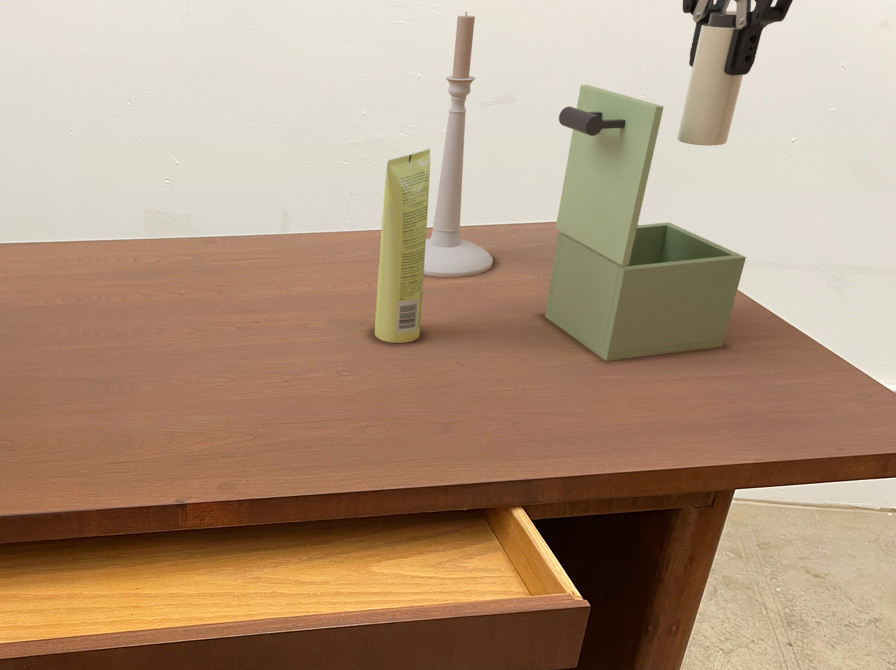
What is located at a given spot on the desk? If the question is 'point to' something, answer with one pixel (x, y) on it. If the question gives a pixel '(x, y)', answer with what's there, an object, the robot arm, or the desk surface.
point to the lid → (607, 169)
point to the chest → (645, 293)
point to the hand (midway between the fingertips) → (717, 69)
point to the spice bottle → (711, 85)
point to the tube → (403, 248)
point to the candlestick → (455, 176)
